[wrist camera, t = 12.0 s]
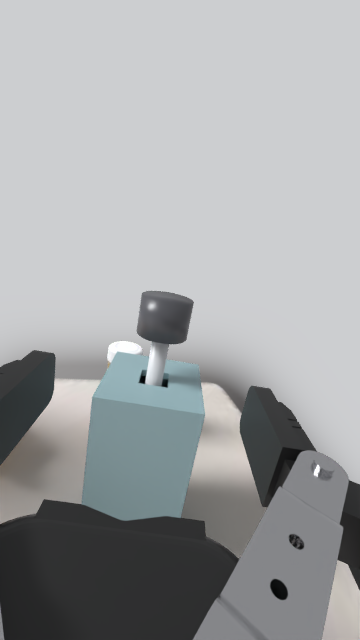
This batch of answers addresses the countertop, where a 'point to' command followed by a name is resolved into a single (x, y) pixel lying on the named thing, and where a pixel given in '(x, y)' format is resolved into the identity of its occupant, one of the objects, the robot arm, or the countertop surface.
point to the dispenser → (142, 439)
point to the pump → (162, 328)
